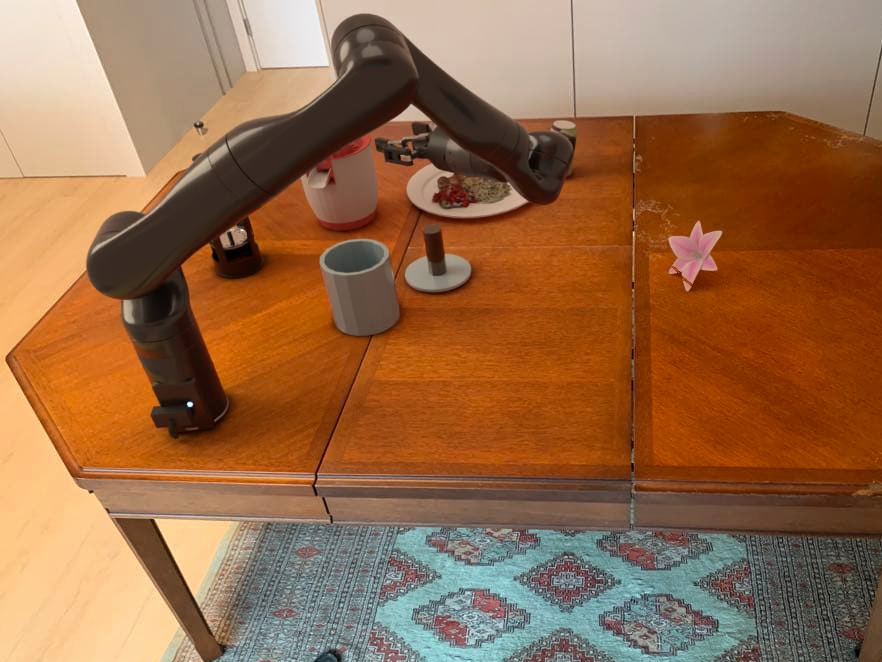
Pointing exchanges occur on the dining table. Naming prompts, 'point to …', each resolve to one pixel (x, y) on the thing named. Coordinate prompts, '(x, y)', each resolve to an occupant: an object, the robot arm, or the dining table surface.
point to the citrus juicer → (344, 187)
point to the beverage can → (566, 134)
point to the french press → (236, 250)
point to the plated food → (460, 194)
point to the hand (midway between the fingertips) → (395, 136)
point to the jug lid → (437, 265)
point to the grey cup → (360, 286)
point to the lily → (694, 253)
